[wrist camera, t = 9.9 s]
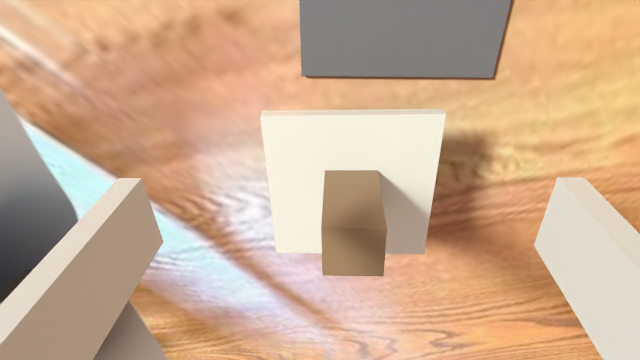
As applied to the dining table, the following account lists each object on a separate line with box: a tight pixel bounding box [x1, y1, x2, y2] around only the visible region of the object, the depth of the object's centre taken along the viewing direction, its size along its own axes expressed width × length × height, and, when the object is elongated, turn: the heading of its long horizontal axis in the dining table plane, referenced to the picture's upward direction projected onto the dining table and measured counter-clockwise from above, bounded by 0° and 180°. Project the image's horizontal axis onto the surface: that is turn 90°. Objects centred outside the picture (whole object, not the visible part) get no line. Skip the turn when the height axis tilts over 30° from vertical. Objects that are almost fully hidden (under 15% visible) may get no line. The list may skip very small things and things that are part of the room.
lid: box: [260, 109, 446, 276], centre depth 28 cm, size 13×13×8 cm
